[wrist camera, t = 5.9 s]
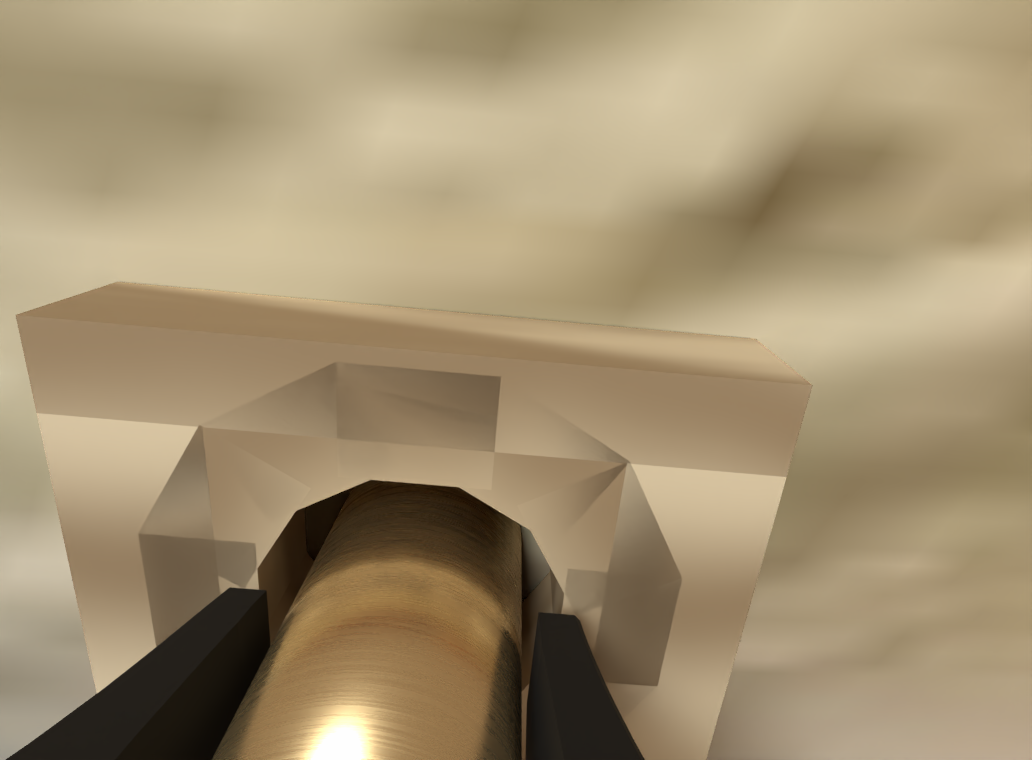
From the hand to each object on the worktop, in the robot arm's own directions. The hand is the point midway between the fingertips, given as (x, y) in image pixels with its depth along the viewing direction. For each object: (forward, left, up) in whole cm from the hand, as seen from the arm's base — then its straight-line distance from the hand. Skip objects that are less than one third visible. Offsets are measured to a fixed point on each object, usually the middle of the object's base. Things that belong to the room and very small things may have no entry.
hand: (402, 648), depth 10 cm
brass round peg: (0, 0, -3) cm, 3 cm away
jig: (0, 0, -3) cm, 3 cm away
